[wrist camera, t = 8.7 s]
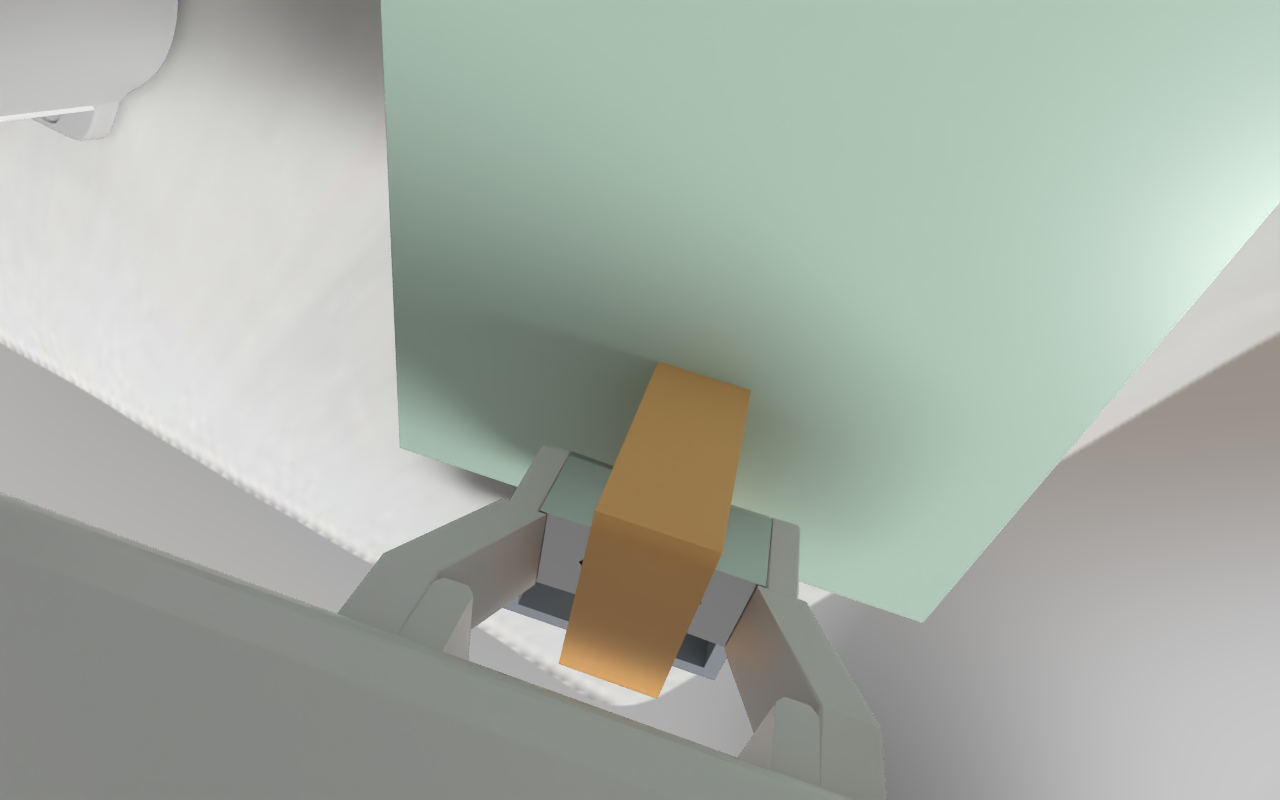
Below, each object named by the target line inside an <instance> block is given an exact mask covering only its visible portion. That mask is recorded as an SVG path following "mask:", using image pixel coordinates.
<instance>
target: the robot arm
mask: <svg viewBox="0 0 1280 800" xmlns="http://www.w3.org/2000/svg"><path fill="white" fill-rule="evenodd" d="M177 13H178V0H0V122H4V121H12V120H20V119H28V118H31V119H33V120H35V121H37V122H39V123H41V124H43V125H45V126H47V127H49V128H51V129H53V130H55V131H57V132H59V133H61V134H63V135H65V136H68V137H70V138H72V139H75V140H80V141H83V140H93V139H101V138H104V137H105V136H106V135H107V134H108V133H109V131H110V130H111V127H112V125H113V123H114V120H115V117H116V114H117V110H118V107H119V103H120V101H121V100H122V99H123V98H124V97H125V96H126V95H127V94H128V93H130V92H131V91H133V90H135V89H136V88H138V87H139V86H141V85H143V84H144V83H146V82H147V81H148V80H149V79H150V78H152V76H153V75H154V74H155V73H156V72H157V71H158V69H159V68H160V67H161V65H162V64H163V62H164V60H165V59H166V57H167V55H168V52H169V50H170V47H171V44H172V41H173V37H174V33H175V28H176V22H177ZM613 467H614V466H612V465H610V464H607V463H604V462H601V461H598V460H595V459H593V458H590V457H587V456H584V455H581V454H579V453H576V452H573V451H572V452H571V451H568V450H565V449H563V448H560V447H557V446H554V445H552V444H549V443H546V444H545V445H543V446H542V447H541V449H540V450H539V452H538V454H537V455H536V457H535V459H534V460H533V462H532V464H531V465H530V467H529V469H528V470H527V472H526V474H525V475H524V477H523V479H522V480H521V482H520V484H519V485H518V487H517V489H516V490H515V492H514V494H513V495H512V497H511V499H510V500H509V501H506V500H503V499H500V500H498V501H496V502H494V503H491V504H489V505H487V506H485V507H483V508H481V509H478V510H476V511H474V512H472V513H470V514H468V515H465V516H463V517H461V518H459V519H457V520H455V521H452V522H450V523H448V524H446V525H444V526H442V527H439V528H437V529H435V530H433V531H431V532H429V533H426V534H424V535H422V536H420V537H418V538H416V539H414V540H411V541H409V542H407V543H405V544H403V545H401V546H398V547H396V548H394V549H392V550H390V551H388V552H385V553H383V555H382V556H381V557H380V559H379V560H378V561H377V562H376V564H375V565H374V566H373V568H372V569H371V570H370V572H369V573H368V574H367V576H366V577H365V578H364V579H363V581H362V582H361V583H360V585H359V586H358V587H357V589H356V590H355V591H354V593H353V594H352V595H351V596H350V598H349V599H348V600H347V602H346V603H345V604H344V606H343V607H342V608H341V609H340V611H339V612H338V613H334V612H331V611H329V610H326V609H323V608H320V607H318V606H315V605H312V604H309V603H306V602H304V601H301V600H298V599H295V598H293V597H290V596H287V595H284V594H281V593H279V592H276V591H273V590H270V589H267V588H265V587H262V586H259V585H256V584H254V583H251V582H248V581H245V580H243V579H240V578H237V577H234V576H232V575H228V574H226V573H223V572H220V571H218V570H215V569H212V568H209V567H207V566H204V565H201V564H198V563H196V562H193V561H190V560H187V559H184V558H181V557H179V556H176V555H173V554H170V553H168V552H165V551H162V550H159V549H157V548H154V547H151V546H148V545H145V544H143V543H140V542H137V541H135V540H132V539H129V538H126V537H123V536H121V535H118V534H115V533H112V532H110V531H107V530H104V529H101V528H98V527H96V526H93V525H90V524H87V523H85V522H82V521H79V520H76V519H74V518H71V517H68V516H65V515H62V514H60V513H57V512H54V511H51V510H49V509H46V508H43V507H40V506H37V505H34V504H32V503H29V502H26V501H24V500H21V499H18V498H15V497H12V496H9V495H7V494H4V493H1V492H0V800H887V798H886V783H885V772H884V771H885V770H884V757H883V743H882V729H881V727H880V726H879V724H878V722H877V721H876V719H875V717H874V715H873V714H872V712H871V710H870V709H869V707H868V705H867V704H866V702H865V700H864V698H863V697H862V695H861V693H860V692H859V690H858V688H857V687H856V685H855V683H854V682H853V680H852V679H851V677H850V675H849V673H848V672H847V670H846V668H845V667H844V665H843V663H842V661H841V660H840V658H839V656H838V655H837V653H836V651H835V650H834V648H833V646H832V645H831V643H830V641H829V640H828V638H827V636H826V634H825V633H824V631H823V629H822V628H821V626H820V624H819V623H818V621H817V619H816V618H815V616H814V614H813V613H812V611H811V609H810V607H809V606H808V604H807V602H805V601H802V600H799V599H798V590H799V563H800V537H801V530H800V528H799V526H798V525H795V524H792V523H789V522H786V521H782V520H779V519H776V518H773V517H772V518H770V517H769V516H766V515H763V514H760V513H756V512H753V511H750V510H747V509H744V508H741V507H738V506H735V505H731V507H730V513H729V519H728V524H727V530H726V536H725V542H724V547H723V553H722V555H721V557H720V560H719V562H718V564H717V566H716V569H715V571H714V573H713V575H712V578H711V580H710V582H709V584H708V586H707V589H706V591H705V593H704V595H703V598H702V600H701V602H700V604H699V607H698V609H697V611H696V613H695V615H694V618H693V620H692V622H691V624H690V627H689V629H688V631H687V633H688V634H691V635H694V636H696V637H699V638H702V639H704V640H707V641H710V642H712V643H715V644H717V645H720V646H723V647H725V649H724V651H725V653H726V656H727V659H728V662H729V664H730V667H731V670H732V673H733V676H734V679H735V681H736V684H737V687H738V690H739V693H740V695H741V698H742V701H743V704H744V706H745V709H746V712H747V715H748V718H749V720H750V723H751V726H752V729H753V732H754V735H753V736H752V737H751V739H750V740H749V742H748V743H747V745H746V746H745V747H744V749H743V750H742V752H741V753H740V755H739V756H738V757H734V756H731V755H728V754H726V753H723V752H720V751H717V750H714V749H712V748H709V747H706V746H703V745H701V744H698V743H695V742H692V741H690V740H687V739H684V738H681V737H678V736H676V735H673V734H670V733H667V732H665V731H662V730H659V729H656V728H653V727H651V726H648V725H645V724H642V723H639V722H637V721H634V720H631V719H628V718H626V717H623V716H620V715H617V714H614V713H612V712H609V711H606V710H603V709H601V708H598V707H595V706H592V705H589V704H587V703H584V702H581V701H578V700H576V699H573V698H570V697H567V696H565V695H562V694H559V693H556V692H553V691H551V690H548V689H545V688H542V687H539V686H537V685H534V684H531V683H528V682H526V681H523V680H520V679H517V678H515V677H512V676H509V675H506V674H503V673H501V672H498V671H495V670H492V669H490V668H487V667H484V666H481V665H479V664H476V663H473V662H470V661H468V659H469V645H470V630H471V629H472V628H474V627H475V626H477V625H478V624H480V623H481V622H482V621H484V620H485V619H487V618H488V617H489V616H491V615H492V614H494V613H495V612H497V611H498V610H499V609H501V608H502V607H504V606H505V605H506V604H508V603H509V602H511V601H512V600H514V599H515V598H516V597H518V596H519V595H521V594H522V593H523V592H525V591H526V590H528V589H529V588H531V587H532V586H533V585H535V582H538V583H542V584H545V585H548V586H551V587H554V588H557V589H560V590H564V591H567V592H570V593H573V594H575V593H576V589H577V584H578V580H579V576H580V572H581V567H582V563H583V559H584V555H585V550H586V546H587V542H588V538H589V533H590V529H591V525H592V521H593V516H594V512H595V509H596V507H597V504H598V502H599V500H600V497H601V495H602V493H603V490H604V488H605V486H606V483H607V481H608V478H609V476H610V474H611V471H612V469H613Z"/></svg>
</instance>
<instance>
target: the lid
mask: <svg viewBox="0 0 1280 800" xmlns="http://www.w3.org/2000/svg"><path fill="white" fill-rule="evenodd" d="M380 1H381V24H382V47H383V70H384V93H385V116H386V139H387V163H388V186H389V209H390V232H391V255H392V278H393V301H394V324H395V347H396V370H397V393H398V416H399V439H400V448H402V449H405V450H408V451H411V452H414V453H417V454H420V455H423V456H426V457H429V458H432V459H435V460H438V461H441V462H444V463H447V464H450V465H453V466H456V467H459V468H462V469H465V470H468V471H471V472H474V473H477V474H480V475H483V476H486V477H489V478H492V479H495V480H498V481H501V482H504V483H507V484H510V485H513V486H516V487H518V485H519V484H520V482H521V480H522V479H523V477H524V475H525V474H526V472H527V470H528V469H529V467H530V465H531V464H532V462H533V460H534V459H535V457H536V455H537V454H538V452H539V450H540V449H541V447H542V446H543V445H545V444H546V443H549V444H552V445H554V446H557V447H560V448H563V449H565V450H568V451H571V452H572V451H573V452H576V453H579V454H581V455H584V456H587V457H590V458H593V459H595V460H598V461H601V462H604V463H607V464H610V465H612V466H614V467H613V469H612V471H611V474H610V476H609V478H608V481H607V483H606V486H605V488H604V490H603V493H602V495H601V497H600V500H599V502H598V504H597V507H596V509H595V512H594V516H593V521H592V525H591V529H590V533H589V538H588V542H587V546H586V550H585V555H584V559H583V563H582V567H581V572H580V576H579V580H578V584H577V589H576V593H575V597H574V601H573V606H572V610H571V614H570V618H569V623H568V627H567V631H566V635H565V640H564V644H563V648H562V652H561V657H560V661H559V664H561V665H563V666H566V667H569V668H572V669H575V670H578V671H580V672H583V673H586V674H589V675H592V676H594V677H597V678H600V679H603V680H606V681H608V682H611V683H614V684H617V685H620V686H623V687H625V688H628V689H631V690H634V691H637V692H639V693H642V694H645V695H648V696H651V697H653V698H656V699H657V698H658V696H659V694H660V691H661V689H662V687H663V685H664V682H665V680H666V678H667V676H668V674H669V671H670V669H671V667H672V665H673V662H674V660H675V658H676V656H677V653H678V651H679V649H680V647H681V645H682V642H683V640H684V638H685V636H686V633H687V631H688V629H689V627H690V624H691V622H692V620H693V618H694V615H695V613H696V611H697V609H698V607H699V604H700V602H701V600H702V598H703V595H704V593H705V591H706V589H707V586H708V584H709V582H710V580H711V578H712V575H713V573H714V571H715V569H716V566H717V564H718V562H719V560H720V557H721V555H722V553H723V547H724V542H725V536H726V530H727V524H728V519H729V513H730V507H731V505H735V506H738V507H741V508H744V509H747V510H750V511H753V512H756V513H760V514H763V515H766V516H769V517H770V518H772V517H773V518H776V519H779V520H782V521H786V522H789V523H792V524H795V525H798V526H799V528H800V530H801V537H800V563H799V582H802V583H805V584H808V585H811V586H814V587H817V588H820V589H823V590H826V591H829V592H832V593H835V594H838V595H841V596H844V597H847V598H850V599H853V600H856V601H859V602H862V603H865V604H868V605H871V606H874V607H877V608H880V609H883V610H886V611H889V612H892V613H896V614H898V615H901V616H904V617H907V618H910V619H913V620H916V621H919V622H922V623H923V622H924V621H925V619H926V618H927V617H928V616H929V615H930V614H931V612H932V611H933V610H934V609H935V608H936V607H937V605H938V604H939V603H940V602H941V601H942V599H943V598H944V597H945V596H946V595H947V593H948V592H949V591H950V590H951V589H952V588H953V587H954V585H955V584H956V583H957V582H958V580H959V579H960V578H961V577H962V576H963V575H964V574H965V572H966V571H967V570H968V569H969V568H970V566H971V565H972V564H973V563H974V562H975V561H976V559H977V558H978V557H979V556H980V555H981V554H982V552H983V551H984V550H985V549H986V547H987V546H988V545H989V544H990V543H991V542H992V541H993V539H994V538H995V537H996V536H997V535H998V533H999V532H1000V531H1001V530H1002V529H1003V528H1004V526H1005V525H1006V524H1007V523H1008V522H1009V521H1010V519H1011V518H1012V517H1013V516H1014V515H1015V513H1016V512H1017V511H1018V510H1019V509H1020V507H1021V506H1022V505H1023V504H1024V503H1025V502H1026V501H1027V499H1028V498H1029V497H1030V496H1031V495H1032V493H1033V492H1034V491H1035V490H1036V488H1037V487H1038V486H1039V485H1040V484H1041V483H1042V482H1043V481H1044V479H1045V478H1046V477H1047V476H1048V475H1049V473H1050V472H1051V471H1052V470H1053V469H1054V468H1055V466H1056V465H1057V464H1058V463H1059V462H1060V461H1061V459H1062V458H1063V457H1064V456H1065V455H1066V453H1067V452H1068V451H1069V450H1070V449H1071V448H1072V446H1073V445H1074V444H1075V443H1076V442H1077V440H1078V439H1079V438H1080V437H1081V436H1082V435H1083V433H1084V432H1085V431H1086V430H1087V429H1088V428H1089V426H1090V425H1091V424H1092V423H1093V422H1094V420H1095V419H1096V418H1097V417H1098V416H1099V415H1100V413H1101V412H1102V411H1103V410H1104V409H1105V408H1106V406H1107V405H1108V404H1109V403H1110V402H1111V400H1112V399H1113V398H1114V397H1115V396H1116V395H1117V393H1118V392H1119V391H1120V390H1121V389H1122V387H1123V386H1124V385H1125V384H1126V383H1127V382H1128V380H1129V379H1130V378H1131V377H1132V376H1133V375H1134V373H1135V372H1136V371H1137V370H1138V369H1139V367H1140V366H1141V365H1142V364H1143V363H1144V362H1145V360H1146V359H1147V358H1148V357H1149V356H1150V355H1151V353H1152V352H1153V351H1154V350H1155V349H1156V347H1157V346H1158V345H1159V344H1160V343H1161V342H1162V340H1163V339H1164V338H1165V337H1166V336H1167V334H1168V333H1169V332H1170V331H1171V330H1172V329H1173V327H1174V326H1175V325H1176V324H1177V323H1178V322H1179V320H1180V319H1181V318H1182V317H1183V316H1184V314H1185V313H1186V312H1187V311H1188V310H1189V309H1190V307H1191V306H1192V305H1193V304H1194V303H1195V302H1196V300H1197V299H1198V298H1199V297H1200V296H1201V294H1202V293H1203V292H1204V291H1205V290H1206V289H1207V287H1208V286H1209V285H1210V284H1211V283H1212V282H1213V280H1214V279H1215V278H1216V277H1217V276H1218V274H1219V273H1220V272H1221V271H1222V270H1223V269H1224V267H1225V266H1226V265H1227V264H1228V263H1229V261H1230V260H1231V259H1232V258H1233V257H1234V256H1235V254H1236V253H1237V252H1238V251H1239V250H1240V249H1241V247H1242V246H1243V245H1244V244H1245V243H1246V241H1247V240H1248V239H1249V238H1250V237H1251V236H1252V234H1253V233H1254V232H1255V231H1256V230H1257V229H1258V227H1259V226H1260V225H1261V224H1262V223H1263V221H1264V220H1265V219H1266V218H1267V217H1268V216H1269V214H1270V213H1271V212H1272V211H1273V210H1274V208H1275V207H1276V206H1277V205H1278V204H1279V203H1280V0H380Z"/></svg>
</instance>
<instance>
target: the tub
mask: <svg viewBox="0 0 1280 800" xmlns="http://www.w3.org/2000/svg"><path fill="white" fill-rule="evenodd" d="M574 597H575V594H573V593H570V592H567V591H564V590H560V589H557V588H554V587H551V586H548V585H545V584H542V583H538V582H535V585H533V586H532V587H531V588H529V589H528V590H526V591H525V592H523V593H522V594H521V595H519V596H518V597H516V598H515V599H514V600H512V601H511V602H509V603H508V604H506V605H505V606H504V607H503V608H505V609H508V610H511V611H514V612H516V613H519V614H522V615H525V616H528V617H531V618H534V619H537V620H540V621H543V622H546V623H548V624H551V625H554V626H557V627H560V628H563V629H566V630H567V627H568V623H569V618H570V614H571V610H572V606H573V601H574ZM724 649H725V647H723V646H720V645H717V644H715V643H712V642H710V641H707V640H704V639H702V638H699V637H696V636H694V635H691V634H688V633H686V636H685V638H684V640H683V642H682V645H681V647H680V649H679V651H678V653H677V656H676V658H675V660H674V662H673V665H672V666H674V667H677V668H679V669H682V670H685V671H688V672H691V673H694V674H697V675H700V676H703V677H706V678H709V679H712V680H715V678H716V677H717V675H718V673H719V671H720V669H721V667H722V666H723V664H724V662H725V660H726V658H727V656H726V653H725V651H724Z"/></svg>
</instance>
